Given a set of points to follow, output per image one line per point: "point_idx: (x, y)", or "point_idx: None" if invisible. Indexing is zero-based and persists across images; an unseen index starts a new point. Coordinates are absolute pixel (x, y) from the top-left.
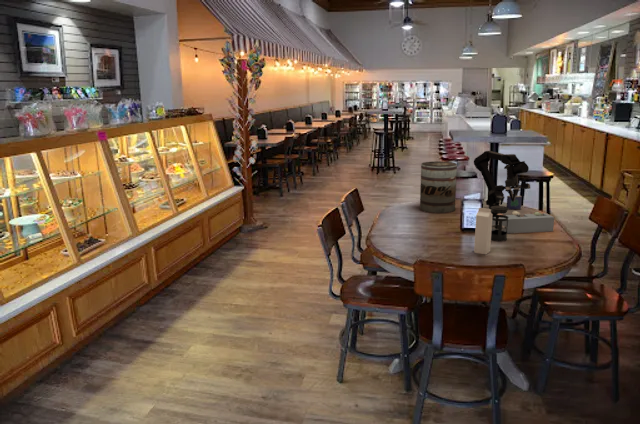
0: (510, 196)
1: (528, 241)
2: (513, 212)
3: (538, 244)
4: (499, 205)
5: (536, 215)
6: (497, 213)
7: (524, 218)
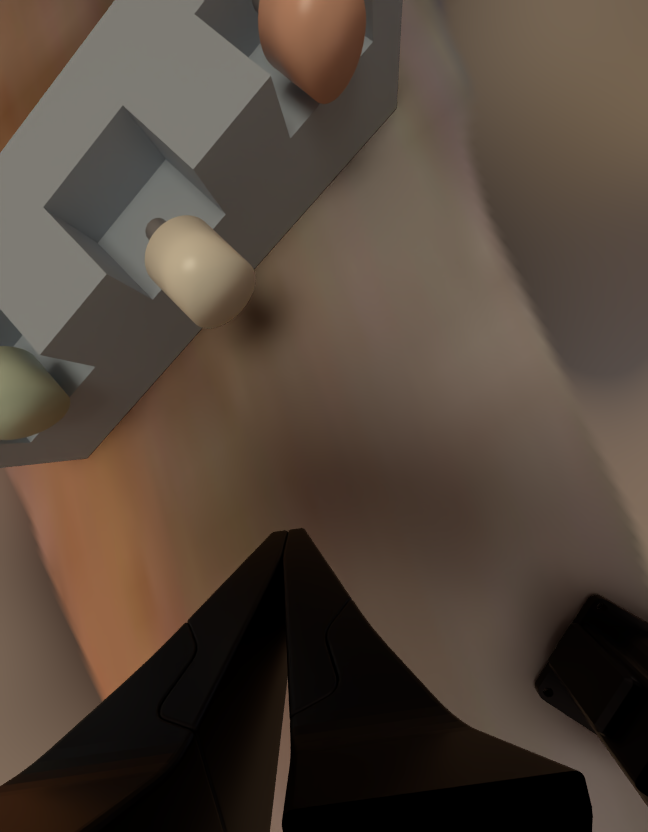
0: (341, 596)
1: (78, 36)
2: (218, 244)
3: (19, 25)
4: (635, 786)
5: (7, 348)
6: (567, 648)
7: (49, 95)
